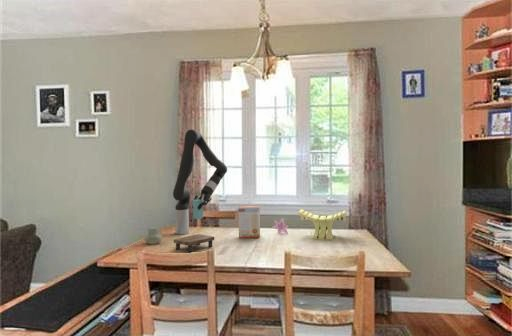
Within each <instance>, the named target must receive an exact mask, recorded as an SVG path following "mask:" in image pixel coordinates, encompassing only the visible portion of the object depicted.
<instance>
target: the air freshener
mask: <svg viewBox="0 0 512 336" xmlns="http://www.w3.org/2000/svg"><path fill="white" fill-rule="evenodd" d="M147 231H148V234H146V236H145V237H144V242H145V243H147V244H148V245H151V244H154V245H158V244H159V243H161V242H162V240H163V237H162V235H161V234H159V228H158V227H156V226H152V227H151V226H150V227H148V230H147Z"/></svg>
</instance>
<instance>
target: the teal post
mask: <svg viewBox="0 0 512 336" xmlns="http://www.w3.org/2000/svg"><path fill="white" fill-rule="evenodd" d="M201 201H202V200H194V199H193V200H192V206H193V208H192V219H193V220H194V219H195V220H201V219H204V206H202V208H201V209H200V210H199V209H198V208H197V207H198V206H199V204H201Z"/></svg>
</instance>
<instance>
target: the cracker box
mask: <svg viewBox="0 0 512 336" xmlns="http://www.w3.org/2000/svg"><path fill="white" fill-rule="evenodd" d="M237 209H238V210H237V211H238V238H239V239H247V238H248V239H259V238H260V237H261V219H260V218H261V215H260V211H261V210H260V206H259V205H254V206H253V205H250V206H249V205H247V206H246V205H243V206H241V205H240V206H238V208H237Z"/></svg>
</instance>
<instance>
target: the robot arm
mask: <svg viewBox="0 0 512 336" xmlns="http://www.w3.org/2000/svg"><path fill="white" fill-rule="evenodd" d="M184 134H185V135H184V143H183V150H182V155H181V160H180V163H179V169H178V174H177V178H176V182H175V185H174V188H173V191H172V195H173V199H174V200H176V201H178V202H177V204H176V205H175V220H174V233H175V234H177V235H188V234H190V229H189V228H190V224H189V223H190V216H189V215H190V214H189V207H190V203H191V202H190V201H191V200H190V199H191V195H190V194H191V193H190V189H189V188H188V187H186V183H187V181H188V179H189V178H190V176H191V175H192V172H193V170H194V165H195V164H194V163H195V155H194V149H195V145H196V146H197V147H198V148H199V150H200V151H201V153H202V155H203V157H204V159H205V161H207V163H208V164H209V166H211V167H214V168H215V170H214V172H213V174H212V175H211V177H209V179H208V180H207V182H206V183H205V184H204V186H203V187H202V188H201V190H200V193H199V194H198V195H197V194H196V195H195V196H194V198H193V200H202V201H201V204H199V206H198V207H197V208H198V209H199V210H200V209H201V208H202V206H203V207H204V206H207V205H208V203H209V202H210V201H212V195H213V194H214V192H215V191H216V189H217V187H218V186H219V184H220V183H221V180H223V178H224V176H225V175H226V173H227V172H228V167H227V166H226V164H225V162H223V161H221V160H220V159H219V158H218V156H217V155H216V154H215V153H214V151H213V150H212V149H211V148H210V147H209V145H208V144H207V142H206V140H205V139H204V137H203V134H202V133H201V132H200V131H199V130H197V129H189V130H187V131H186V132H185V133H184ZM191 208H192V209H193V205H192V207H191Z"/></svg>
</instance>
